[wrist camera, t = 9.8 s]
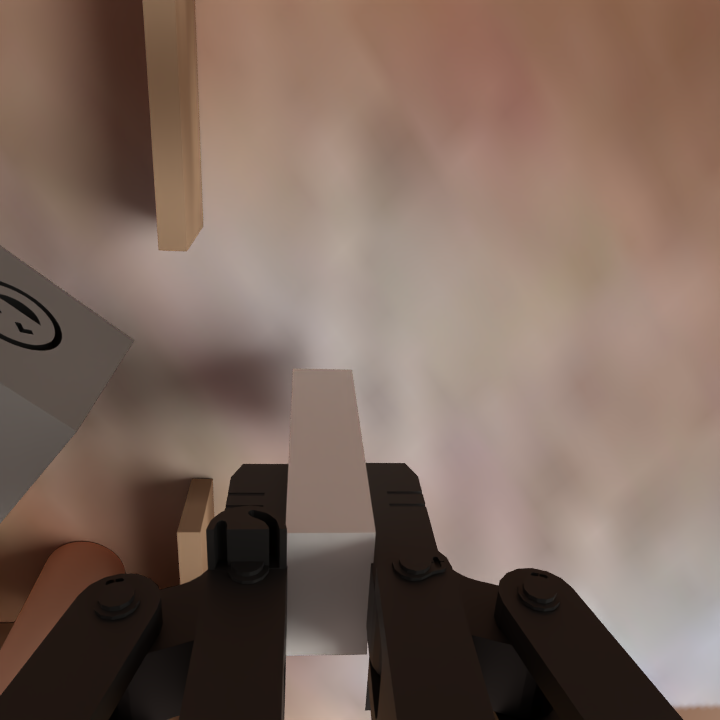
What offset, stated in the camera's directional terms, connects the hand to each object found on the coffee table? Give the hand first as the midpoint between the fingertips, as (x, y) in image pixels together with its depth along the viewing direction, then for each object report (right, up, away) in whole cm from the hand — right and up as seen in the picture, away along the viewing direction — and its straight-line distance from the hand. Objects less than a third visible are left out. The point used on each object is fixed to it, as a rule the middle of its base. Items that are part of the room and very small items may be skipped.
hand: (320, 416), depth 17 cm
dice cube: (-9, +2, +1) cm, 9 cm away
